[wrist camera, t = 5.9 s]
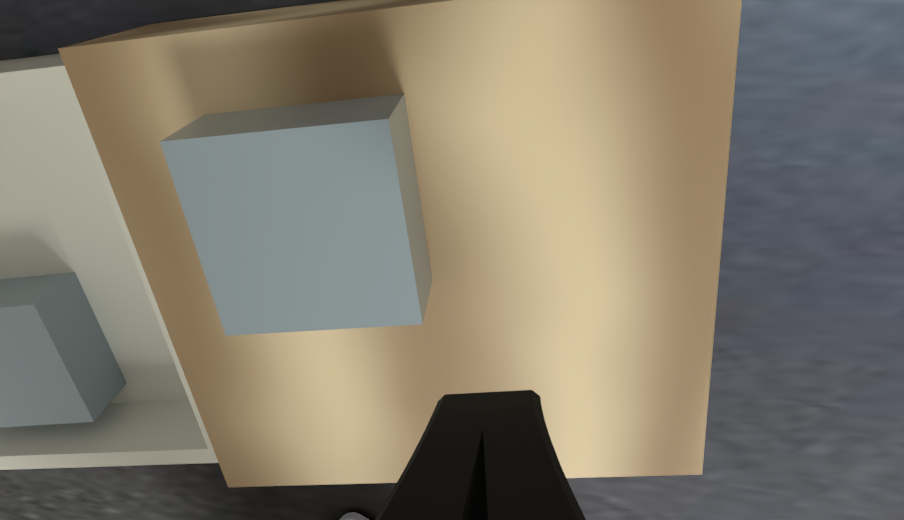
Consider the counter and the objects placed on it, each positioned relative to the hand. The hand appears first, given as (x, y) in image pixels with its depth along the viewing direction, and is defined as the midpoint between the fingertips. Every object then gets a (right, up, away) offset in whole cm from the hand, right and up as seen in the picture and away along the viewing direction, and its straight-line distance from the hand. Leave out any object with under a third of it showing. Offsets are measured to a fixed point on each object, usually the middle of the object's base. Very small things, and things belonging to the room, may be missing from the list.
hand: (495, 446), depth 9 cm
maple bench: (-1, +4, +10) cm, 11 cm away
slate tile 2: (-15, -1, +11) cm, 18 cm away
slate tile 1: (-4, +4, +6) cm, 8 cm away
